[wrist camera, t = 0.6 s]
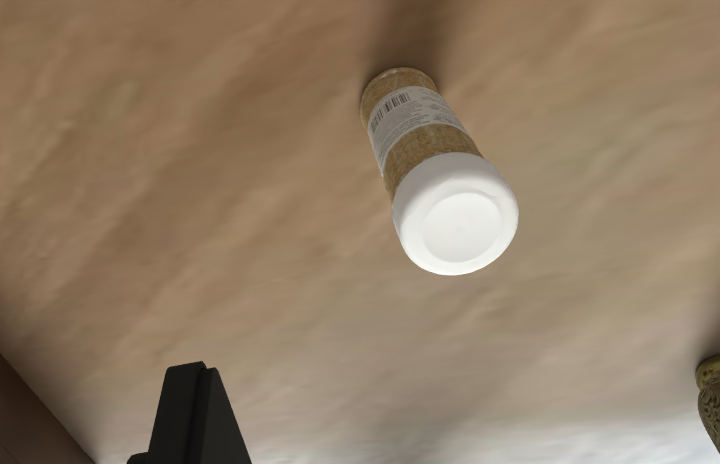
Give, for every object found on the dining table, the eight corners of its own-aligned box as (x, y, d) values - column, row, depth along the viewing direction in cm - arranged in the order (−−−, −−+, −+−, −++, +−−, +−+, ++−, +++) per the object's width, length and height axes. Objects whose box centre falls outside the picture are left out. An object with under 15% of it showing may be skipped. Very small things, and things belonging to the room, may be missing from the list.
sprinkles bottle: (380, 156, 35) (429, 298, 24) (344, 88, 33) (378, 210, 22) (452, 119, 35) (538, 247, 23) (420, 47, 32) (497, 150, 21)
